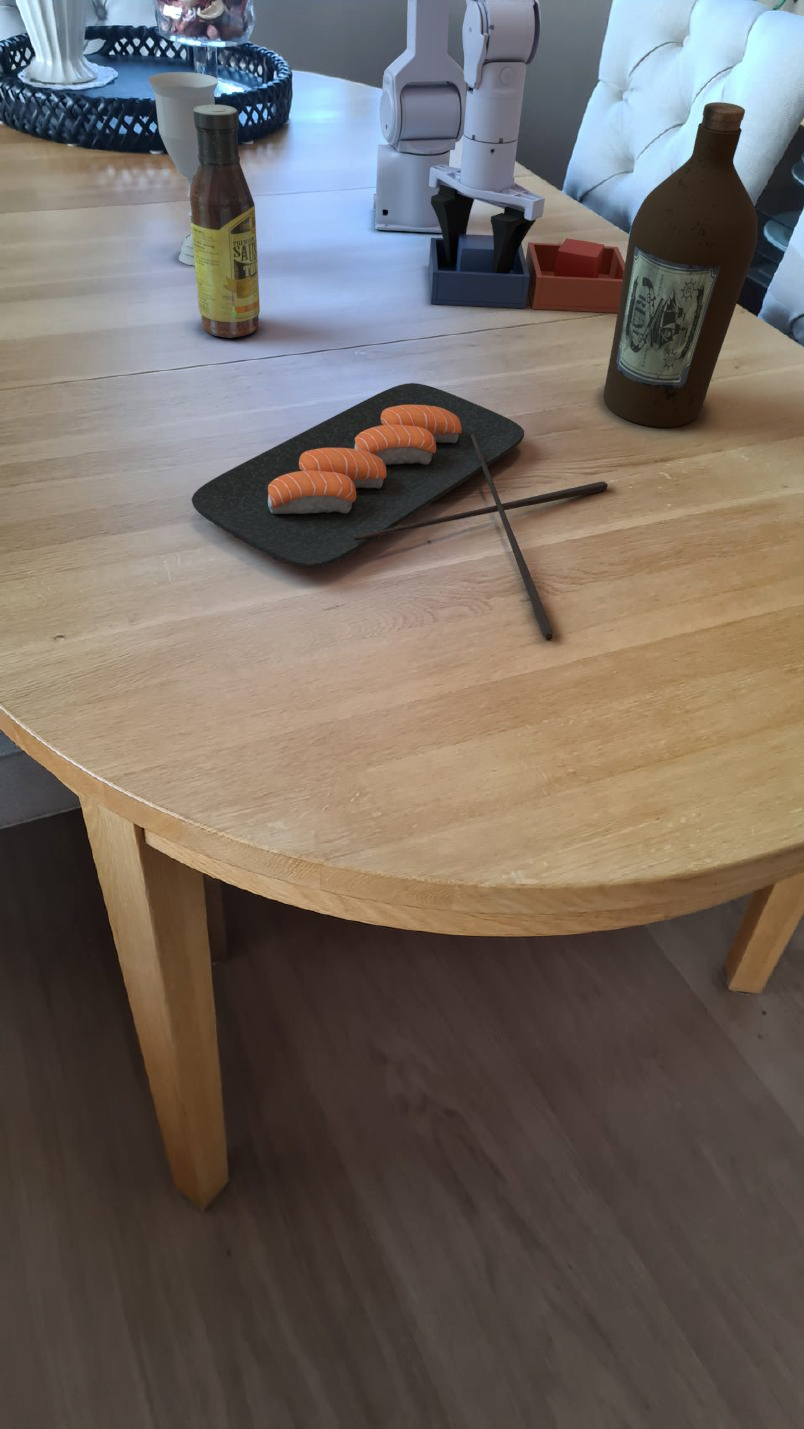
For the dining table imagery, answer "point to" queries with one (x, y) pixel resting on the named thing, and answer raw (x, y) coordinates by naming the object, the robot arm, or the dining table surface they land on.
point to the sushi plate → (369, 479)
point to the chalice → (182, 125)
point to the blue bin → (476, 282)
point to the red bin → (573, 282)
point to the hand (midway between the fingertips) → (477, 270)
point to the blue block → (475, 253)
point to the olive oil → (682, 280)
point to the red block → (579, 259)
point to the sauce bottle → (223, 228)
